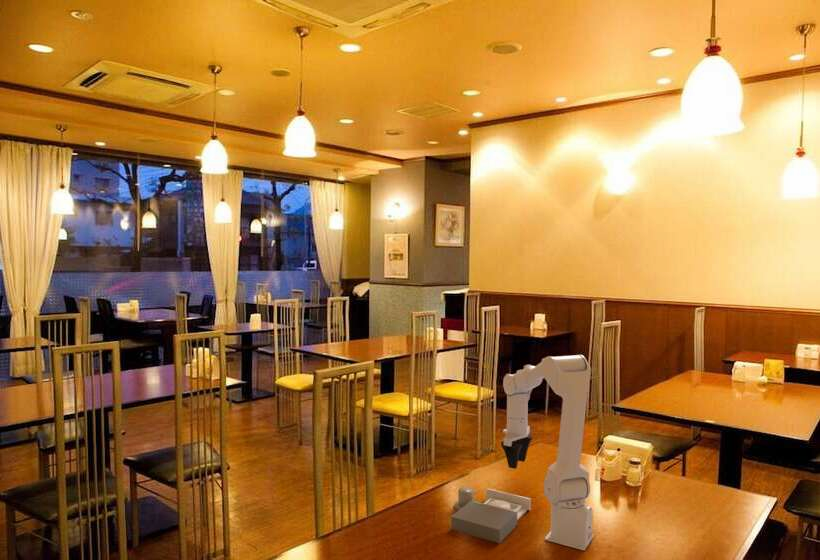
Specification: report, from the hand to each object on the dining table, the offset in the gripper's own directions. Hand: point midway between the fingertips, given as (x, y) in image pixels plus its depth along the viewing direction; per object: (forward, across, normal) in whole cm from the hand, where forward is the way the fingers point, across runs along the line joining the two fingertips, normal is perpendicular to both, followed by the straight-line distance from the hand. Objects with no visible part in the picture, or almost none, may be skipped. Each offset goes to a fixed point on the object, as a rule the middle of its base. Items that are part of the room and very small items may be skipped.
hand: (516, 464), depth 162 cm
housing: (+9, +21, 0) cm, 23 cm away
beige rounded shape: (+9, +12, 0) cm, 15 cm away
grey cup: (+9, +13, -9) cm, 19 cm away
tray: (+9, +12, 0) cm, 15 cm away
